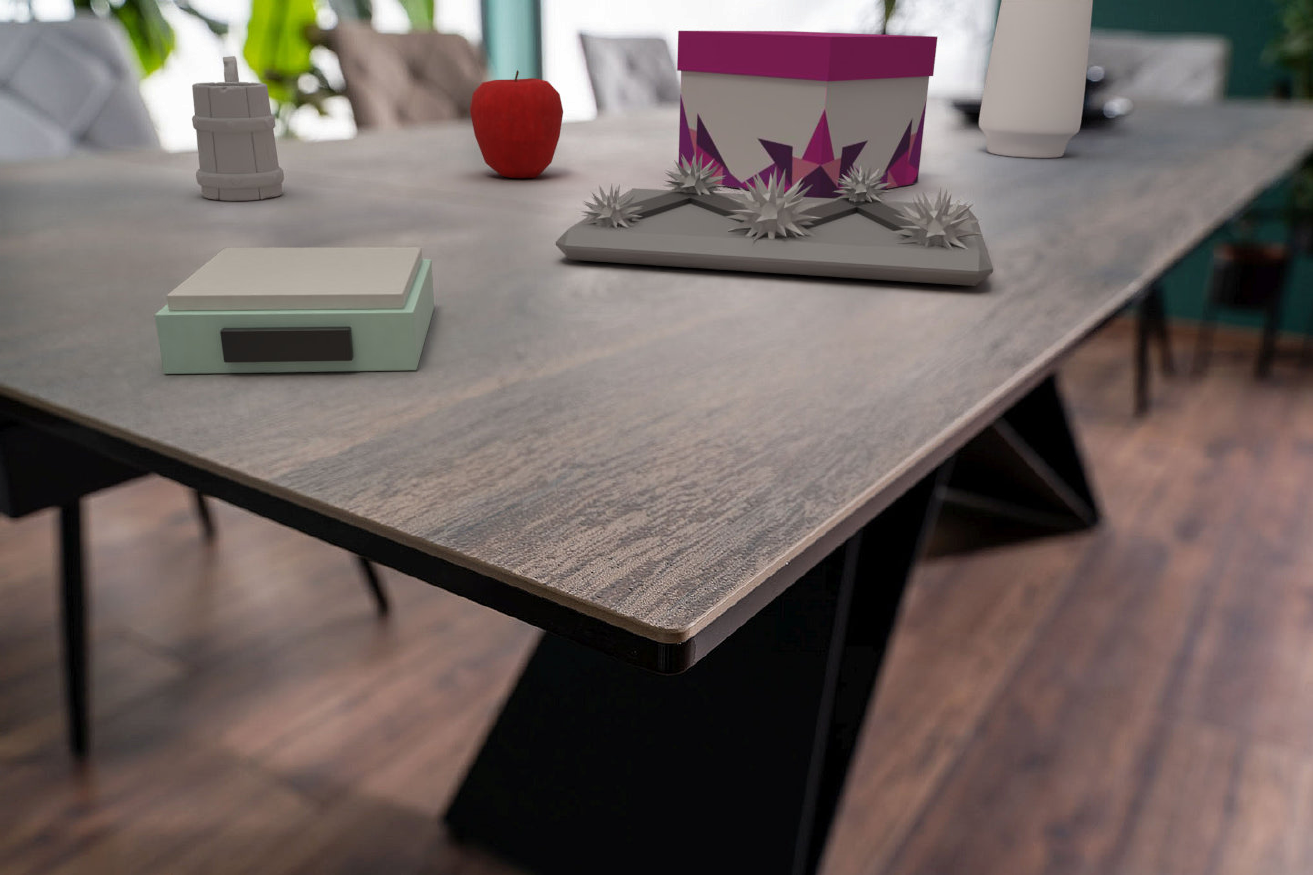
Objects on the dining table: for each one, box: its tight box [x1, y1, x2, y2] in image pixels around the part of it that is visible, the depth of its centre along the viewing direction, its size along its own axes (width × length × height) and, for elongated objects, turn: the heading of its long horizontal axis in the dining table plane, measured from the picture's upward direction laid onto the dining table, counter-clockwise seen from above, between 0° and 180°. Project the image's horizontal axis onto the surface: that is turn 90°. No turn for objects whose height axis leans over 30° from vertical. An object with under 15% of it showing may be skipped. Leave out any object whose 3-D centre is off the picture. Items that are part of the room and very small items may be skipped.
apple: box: [469, 69, 564, 179], centre depth 114 cm, size 10×10×11 cm
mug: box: [191, 55, 285, 202], centre depth 100 cm, size 8×12×12 cm, turn 19°
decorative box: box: [676, 30, 938, 199], centre depth 114 cm, size 19×19×15 cm
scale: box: [154, 246, 435, 375], centre depth 57 cm, size 12×12×4 cm
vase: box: [978, 0, 1094, 159], centre depth 141 cm, size 13×13×28 cm
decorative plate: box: [555, 153, 994, 287], centre depth 82 cm, size 30×22×7 cm
